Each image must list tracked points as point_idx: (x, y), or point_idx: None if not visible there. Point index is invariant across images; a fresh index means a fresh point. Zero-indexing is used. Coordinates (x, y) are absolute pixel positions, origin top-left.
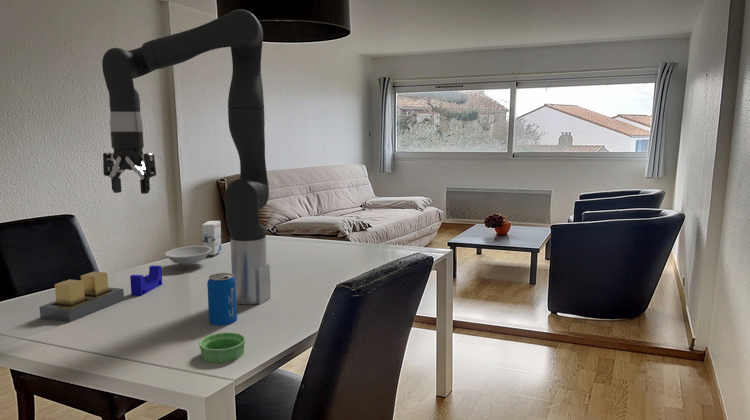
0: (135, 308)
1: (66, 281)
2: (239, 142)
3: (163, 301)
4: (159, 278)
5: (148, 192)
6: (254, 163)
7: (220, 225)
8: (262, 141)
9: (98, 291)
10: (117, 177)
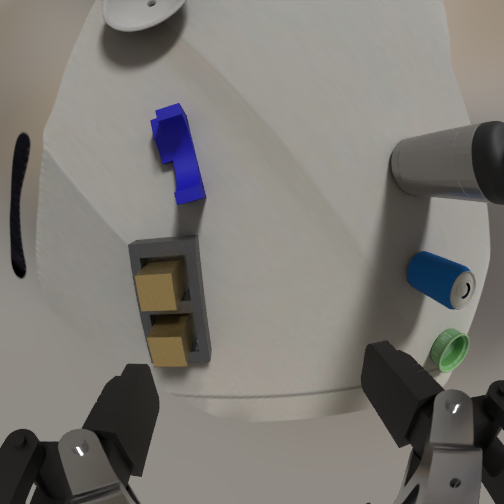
0: (251, 260)
1: (156, 349)
2: None
3: (272, 208)
4: (186, 121)
5: (383, 341)
6: None
7: None
8: None
9: (181, 290)
10: (119, 459)
